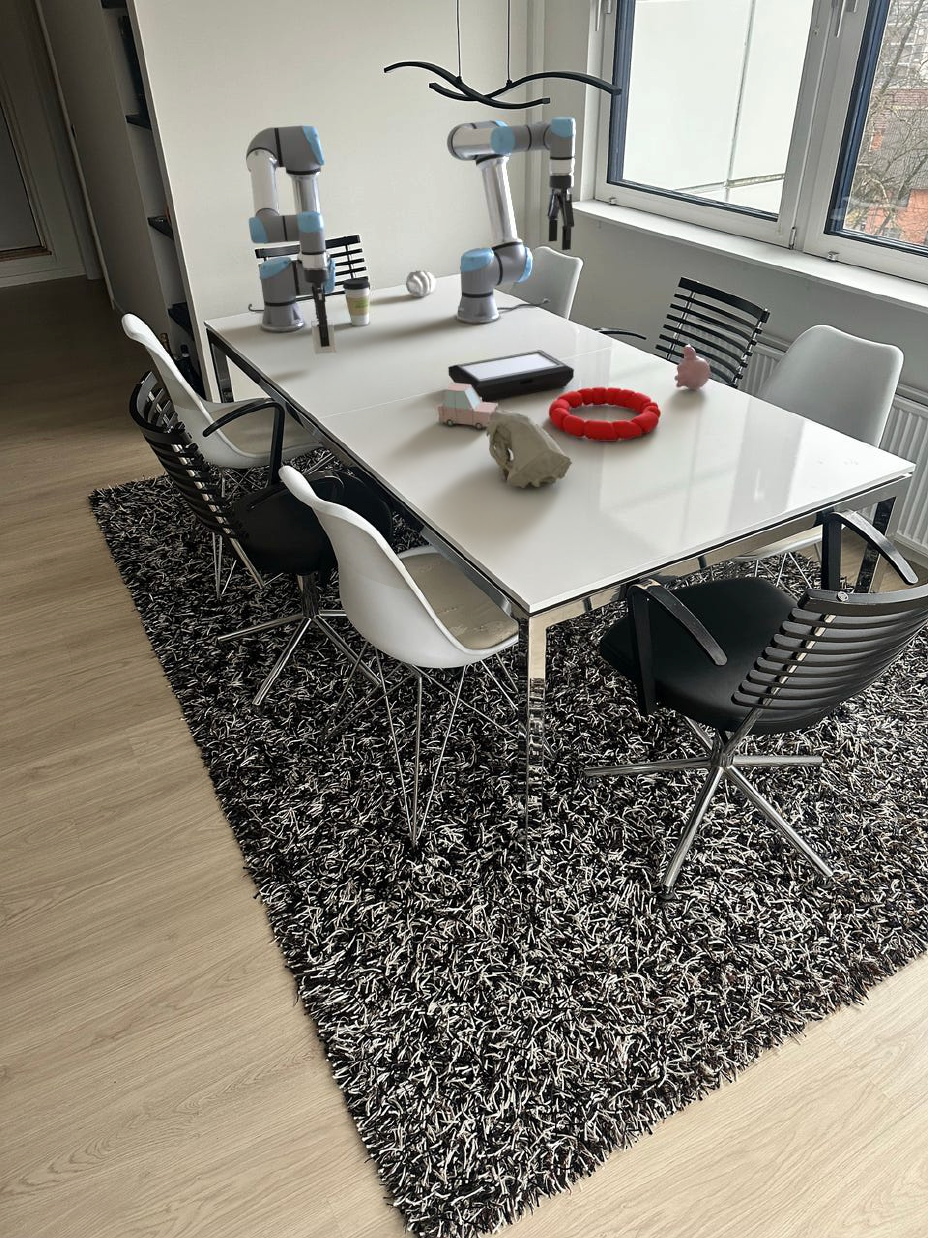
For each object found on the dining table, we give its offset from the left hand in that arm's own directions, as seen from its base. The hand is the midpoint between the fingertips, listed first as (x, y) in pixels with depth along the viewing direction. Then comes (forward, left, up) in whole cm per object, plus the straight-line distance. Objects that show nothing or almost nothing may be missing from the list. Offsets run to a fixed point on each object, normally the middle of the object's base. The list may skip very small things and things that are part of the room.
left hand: (324, 343), depth 284 cm
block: (0, 0, -2) cm, 2 cm away
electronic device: (+33, +53, -8) cm, 63 cm away
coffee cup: (-45, +14, -8) cm, 48 cm away
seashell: (-75, +41, -8) cm, 86 cm away
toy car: (+58, +36, -8) cm, 69 cm away
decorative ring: (+67, +72, -8) cm, 99 cm away
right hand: (-12, +80, +22) cm, 84 cm away
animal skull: (+91, +43, -8) cm, 101 cm away
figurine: (+49, +104, -8) cm, 115 cm away
